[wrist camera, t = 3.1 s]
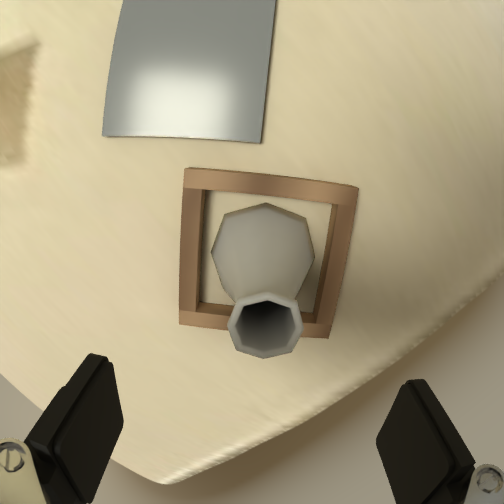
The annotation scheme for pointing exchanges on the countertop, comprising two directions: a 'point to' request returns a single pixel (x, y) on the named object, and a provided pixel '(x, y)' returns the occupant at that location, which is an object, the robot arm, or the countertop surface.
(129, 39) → the slate tile
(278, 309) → the flask
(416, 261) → the countertop surface
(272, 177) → the square wooden frame
